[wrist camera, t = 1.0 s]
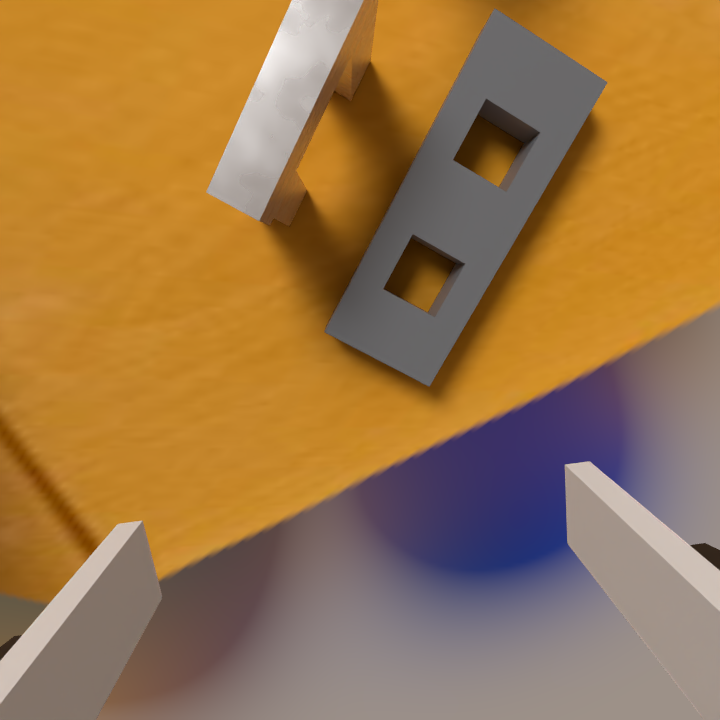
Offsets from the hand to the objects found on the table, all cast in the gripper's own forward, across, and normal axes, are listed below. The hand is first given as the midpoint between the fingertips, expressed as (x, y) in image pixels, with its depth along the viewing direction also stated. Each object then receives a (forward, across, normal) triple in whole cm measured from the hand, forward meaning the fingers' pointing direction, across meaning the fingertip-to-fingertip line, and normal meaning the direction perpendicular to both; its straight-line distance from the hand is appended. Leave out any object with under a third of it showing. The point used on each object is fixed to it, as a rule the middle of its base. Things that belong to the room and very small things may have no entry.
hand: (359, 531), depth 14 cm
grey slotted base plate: (+24, +9, +10) cm, 28 cm away
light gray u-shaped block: (+24, -1, +17) cm, 30 cm away
